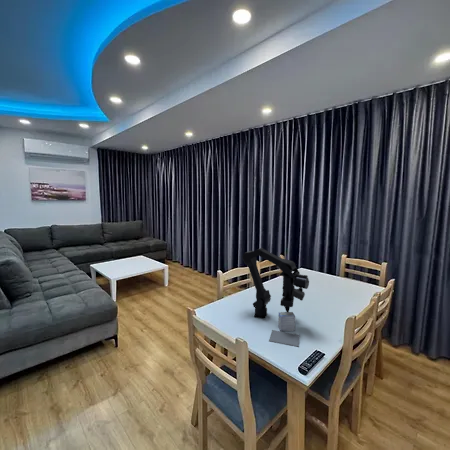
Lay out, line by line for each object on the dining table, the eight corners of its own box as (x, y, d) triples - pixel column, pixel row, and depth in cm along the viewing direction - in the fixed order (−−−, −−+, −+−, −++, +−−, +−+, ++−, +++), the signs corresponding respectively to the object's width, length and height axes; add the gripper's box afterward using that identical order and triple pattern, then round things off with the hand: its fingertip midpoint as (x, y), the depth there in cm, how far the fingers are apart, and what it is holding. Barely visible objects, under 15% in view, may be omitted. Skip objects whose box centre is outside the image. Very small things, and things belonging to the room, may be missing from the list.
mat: (269, 341, 118) (269, 340, 118) (272, 330, 127) (272, 329, 127) (298, 347, 113) (298, 346, 113) (299, 335, 123) (299, 334, 123)
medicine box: (292, 326, 131) (292, 311, 130) (295, 331, 127) (295, 315, 126) (278, 327, 131) (278, 311, 130) (280, 331, 127) (280, 316, 125)
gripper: (303, 292, 119) (302, 322, 121) (304, 280, 137) (303, 306, 138) (280, 290, 123) (280, 319, 124) (284, 278, 140) (283, 303, 142)
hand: (287, 311), depth 132 cm, fingers closed
